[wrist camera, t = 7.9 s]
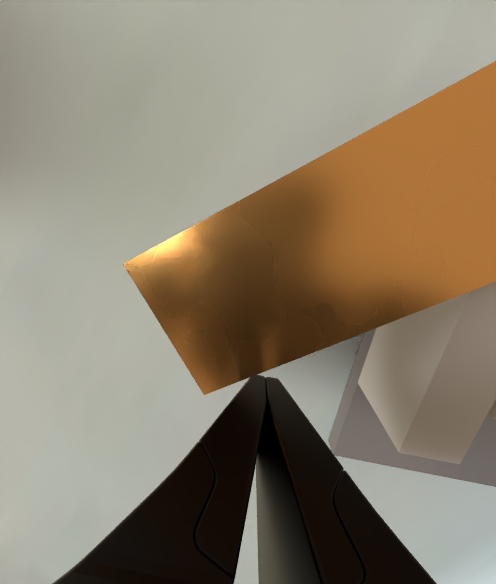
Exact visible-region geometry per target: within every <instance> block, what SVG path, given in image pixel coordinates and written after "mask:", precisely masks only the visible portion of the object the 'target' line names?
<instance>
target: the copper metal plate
mask: <svg viewBox="0 0 496 584" xmlns="http://www.w3.org/2000/svg"><path fill="white" fill-rule="evenodd" d="M123 265H124V267H125V268H126V270H127V271H128V273H129V275H130V276H131V278H132V279H133V281H134V283H135V284H136V286H137V287H138V289H139V291H140V292H141V294H142V296H143V297H144V299H145V300H146V302H147V304H148V305H149V307H150V308H151V310H152V312H153V313H154V315H155V317H156V318H157V320H158V321H159V323H160V325H161V326H162V328H163V329H164V331H165V333H166V334H167V336H168V337H169V339H170V341H171V342H172V344H173V346H174V347H175V349H176V350H177V352H178V354H179V355H180V357H181V358H182V360H183V362H184V363H185V365H186V367H187V368H188V370H189V371H190V373H191V375H192V376H193V378H194V379H195V381H196V383H197V384H198V386H199V388H200V389H201V391H202V392H203V394H204V395H205V394H208V393H210V392H213V391H216V390H218V389H221V388H223V387H226V386H228V385H231V384H234V383H236V382H239V381H241V380H244V379H246V378H249V377H252V376H254V375H257V374H259V373H262V372H264V371H267V370H270V369H272V368H275V367H277V366H280V365H282V364H285V363H288V362H290V361H293V360H295V359H298V358H300V357H303V356H306V355H308V354H311V353H313V352H316V351H318V350H321V349H324V348H326V347H329V346H331V345H334V344H336V343H339V342H342V341H344V340H347V339H349V338H352V337H354V336H357V335H360V334H362V333H365V332H367V331H370V330H372V329H375V328H378V327H380V326H383V325H385V324H388V323H391V322H393V321H396V320H398V319H401V318H403V317H406V316H409V315H411V314H414V313H416V312H419V311H421V310H424V309H427V308H429V307H432V306H434V305H437V304H439V303H442V302H445V301H447V300H450V299H452V298H455V297H457V296H460V295H463V294H465V293H468V292H470V291H473V290H475V289H478V288H481V287H483V286H486V285H488V284H491V283H493V282H496V61H495V62H493V63H491V64H490V65H488V66H486V67H484V68H482V69H480V70H479V71H477V72H475V73H473V74H471V75H469V76H468V77H466V78H464V79H462V80H460V81H458V82H457V83H455V84H453V85H451V86H449V87H447V88H446V89H444V90H442V91H440V92H438V93H436V94H434V95H433V96H431V97H429V98H427V99H425V100H423V101H422V102H420V103H418V104H416V105H414V106H412V107H411V108H409V109H407V110H405V111H403V112H401V113H400V114H398V115H396V116H394V117H392V118H390V119H389V120H387V121H385V122H383V123H381V124H379V125H378V126H376V127H374V128H372V129H370V130H368V131H367V132H365V133H363V134H361V135H359V136H357V137H356V138H354V139H352V140H350V141H348V142H346V143H345V144H343V145H341V146H339V147H337V148H335V149H333V150H332V151H330V152H328V153H326V154H324V155H322V156H321V157H319V158H317V159H315V160H313V161H311V162H310V163H308V164H306V165H304V166H302V167H300V168H299V169H297V170H295V171H293V172H291V173H289V174H288V175H286V176H284V177H282V178H280V179H278V180H277V181H275V182H273V183H271V184H269V185H267V186H266V187H264V188H262V189H260V190H258V191H256V192H255V193H253V194H251V195H249V196H247V197H245V198H244V199H242V200H240V201H238V202H236V203H234V204H232V205H231V206H229V207H227V208H225V209H223V210H221V211H220V212H218V213H216V214H214V215H212V216H210V217H209V218H207V219H205V220H203V221H201V222H199V223H198V224H196V225H194V226H192V227H190V228H188V229H187V230H185V231H183V232H181V233H179V234H177V235H176V236H174V237H172V238H170V239H168V240H166V241H165V242H163V243H161V244H159V245H157V246H155V247H154V248H152V249H150V250H148V251H146V252H144V253H143V254H141V255H139V256H137V257H135V258H133V259H131V260H130V261H128V262H126V263H124V264H123Z"/></svg>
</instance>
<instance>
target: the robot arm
mask: <svg viewBox="0 0 496 584" xmlns="http://www.w3.org/2000/svg"><path fill="white" fill-rule="evenodd" d="M255 465H256V488H257V529H258V571H259V584H436V582H435V581H434V580H433V579H432V578H431V577H430V575H429V574H428V573H427V572H426V571H425V569H424V568H423V567H422V566H421V565H420V564H419V562H418V561H417V560H416V559H415V558H414V556H413V555H412V554H411V553H410V552H409V551H408V549H407V548H406V547H405V546H404V545H403V543H402V542H401V541H400V540H399V539H398V537H397V536H396V535H395V534H394V533H393V531H392V530H391V529H390V528H389V526H388V525H387V524H386V523H385V522H384V520H383V519H382V518H381V517H380V515H379V514H378V513H377V512H376V511H375V509H374V508H373V507H372V505H371V504H370V503H369V501H368V500H367V499H366V497H365V496H364V495H363V494H362V492H361V491H360V490H359V488H358V487H357V486H356V484H355V483H354V482H353V480H352V479H351V477H350V476H349V475H348V473H347V472H346V471H343V467H342V465H341V464H340V463H339V461H338V460H337V459H336V457H335V456H334V454H333V453H332V452H331V450H330V449H329V448H328V446H327V445H326V443H325V442H324V441H323V439H322V438H321V437H320V435H319V434H318V433H317V431H316V430H315V428H314V427H313V426H312V424H311V423H310V422H309V420H308V419H307V417H306V416H305V415H304V413H303V412H302V411H301V409H300V408H299V407H298V405H297V404H296V402H295V401H294V400H293V398H292V397H291V396H290V394H289V393H288V391H287V390H286V389H285V387H284V386H283V385H282V383H281V382H280V381H279V380H278V379H276V378H271V377H266V378H265V377H264V376H260V375H254V376H252V377H250V378H249V380H248V381H247V382H246V383H245V385H244V386H243V387H242V388H241V390H240V391H239V392H238V393H237V394H236V396H235V397H234V398H233V399H232V401H231V402H230V403H229V404H228V406H227V407H226V408H225V409H224V411H223V412H222V413H221V414H220V415H219V417H218V418H217V419H216V420H215V422H214V423H213V424H212V425H211V427H210V428H209V429H208V430H207V431H206V433H205V434H204V435H203V436H202V438H201V439H200V440H199V442H197V444H196V445H195V446H194V447H193V448H192V450H191V451H190V452H189V453H188V455H187V456H186V457H185V458H184V459H183V460H182V461H181V463H180V464H179V465H178V466H177V467H176V468H175V469H174V471H173V472H172V473H171V474H170V475H169V476H168V477H167V478H166V479H165V480H164V481H163V482H162V483H161V484H160V485H159V486H158V487H157V488H156V489H155V490H154V491H153V492H152V493H151V494H150V495H149V496H148V497H147V498H146V499H145V500H144V501H143V502H142V503H141V504H140V505H139V506H137V507H136V508H135V509H134V510H133V511H132V512H131V513H130V514H129V515H128V516H127V517H126V518H125V519H124V520H123V521H122V522H121V523H120V524H119V525H118V526H117V527H116V528H115V529H114V530H113V531H112V532H111V533H110V534H109V535H108V536H106V537H105V538H104V539H103V540H102V541H101V542H100V543H99V544H98V545H97V546H96V547H95V548H94V549H93V550H92V551H91V552H90V553H89V554H88V555H87V556H86V557H84V558H83V559H82V560H81V561H80V562H79V563H78V564H77V565H75V566H74V567H73V568H72V569H71V570H70V571H68V572H67V573H66V574H64V575H63V576H62V577H61V578H59V579H58V580H57V581H55V582H54V583H52V584H233V583H234V579H235V574H236V569H237V563H238V558H239V552H240V547H241V541H242V536H243V530H244V525H245V519H246V514H247V508H248V503H249V497H250V492H251V487H252V481H253V476H254V470H255Z"/></svg>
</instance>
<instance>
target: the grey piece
mask: <svg viewBox="0 0 496 584" xmlns="http://www.w3.org/2000/svg"><path fill="white" fill-rule="evenodd" d="M495 399H496V282H493V283H491V284H488V285H486V286H483V287H481V288H478V289H475V290H473V291H470V292H468V293H465V294H463V295H460V296H457V297H455V298H452V299H450V300H447V301H445V302H442V303H439V304H437V305H434V306H432V307H429V308H427V309H424V310H421V311H419V312H416V313H414V314H411V315H409V316H406V317H403V318H401V319H398V320H396V321H393V322H391V323H388V324H385V325H383V326H380V327H378V328H375V329H372V330H370V331H367V332H365V333H364V334H363V337H362V340H361V343H360V346H359V349H358V352H357V355H356V358H355V361H354V364H353V367H352V370H351V373H350V376H349V379H348V382H347V385H346V388H345V391H344V394H343V397H342V400H341V403H340V406H339V409H338V412H337V416H336V419H335V422H334V425H333V428H332V431H331V434H330V437H329V444H330V447H331V451H332V453H333V454H334V455H336V456H341V457H346V458H351V459H356V460H362V461H367V462H372V463H377V464H382V465H387V466H392V467H398V468H403V469H408V470H413V471H418V472H423V473H428V474H433V475H439V476H444V477H449V478H454V479H459V480H464V481H469V482H475V483H480V484H485V485H490V486H495V487H496V419H495V418H494V417H493V416H491V415H490V414H489V413H488V412H489V410H490V409H491V407H492V405H493V403H494V401H495Z"/></svg>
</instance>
